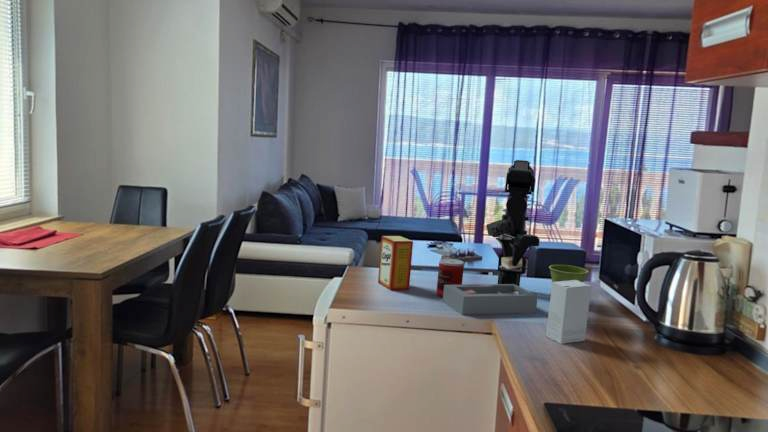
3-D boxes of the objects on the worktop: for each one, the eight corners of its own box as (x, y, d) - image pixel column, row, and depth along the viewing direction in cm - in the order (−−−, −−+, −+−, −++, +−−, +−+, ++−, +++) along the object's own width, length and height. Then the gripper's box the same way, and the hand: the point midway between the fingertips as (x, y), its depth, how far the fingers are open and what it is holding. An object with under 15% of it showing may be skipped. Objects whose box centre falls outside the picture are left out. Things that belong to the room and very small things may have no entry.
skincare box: (569, 334, 159) (576, 279, 158) (586, 342, 154) (593, 285, 152) (544, 336, 156) (550, 280, 154) (560, 344, 150) (567, 286, 148)
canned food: (460, 293, 193) (463, 259, 192) (461, 300, 185) (464, 264, 184) (436, 291, 194) (439, 257, 193) (436, 297, 186) (439, 262, 185)
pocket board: (512, 300, 190) (514, 284, 189) (535, 312, 178) (537, 295, 177) (442, 301, 182) (444, 284, 181) (462, 314, 170) (463, 296, 169)
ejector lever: (515, 294, 184) (515, 283, 184) (521, 297, 181) (521, 286, 181) (461, 302, 178) (460, 291, 178) (466, 305, 176) (465, 294, 175)
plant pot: (548, 296, 199) (552, 262, 198) (586, 303, 194) (590, 268, 193) (541, 304, 188) (545, 268, 187) (581, 311, 183) (585, 274, 182)
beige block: (514, 264, 183) (514, 255, 183) (522, 267, 179) (522, 258, 179) (501, 266, 182) (501, 257, 181) (508, 269, 178) (508, 260, 177)
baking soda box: (378, 282, 199) (381, 234, 197) (395, 282, 202) (399, 234, 200) (390, 290, 191) (394, 240, 189) (408, 289, 193) (413, 240, 191)
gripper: (476, 207, 184) (471, 257, 186) (508, 216, 167) (502, 271, 169) (508, 208, 188) (503, 257, 190) (543, 217, 171) (537, 271, 173)
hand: (510, 264), depth 180 cm, fingers closed on beige block, 4 cm apart
